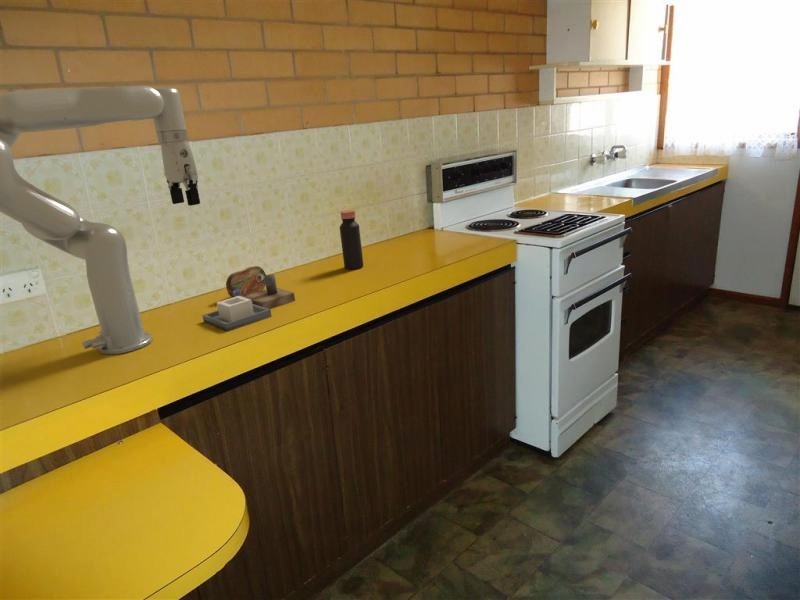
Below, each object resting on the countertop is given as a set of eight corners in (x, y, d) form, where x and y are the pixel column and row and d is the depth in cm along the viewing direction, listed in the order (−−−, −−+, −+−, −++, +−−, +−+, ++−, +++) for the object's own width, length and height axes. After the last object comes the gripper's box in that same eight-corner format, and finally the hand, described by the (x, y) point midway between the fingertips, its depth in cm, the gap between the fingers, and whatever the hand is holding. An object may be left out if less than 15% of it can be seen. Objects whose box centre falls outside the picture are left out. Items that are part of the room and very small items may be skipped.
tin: (234, 302, 176) (229, 276, 173) (227, 301, 177) (222, 275, 175) (268, 288, 187) (264, 263, 185) (261, 287, 189) (257, 262, 187)
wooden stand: (263, 311, 164) (258, 284, 162) (243, 304, 172) (239, 279, 170) (295, 300, 172) (291, 274, 169) (275, 294, 179) (271, 270, 177)
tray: (227, 331, 150) (225, 324, 150) (203, 321, 160) (202, 315, 159) (271, 316, 159) (270, 309, 159) (246, 307, 169) (245, 301, 168)
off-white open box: (254, 315, 159) (251, 299, 158) (231, 322, 155) (228, 306, 153) (241, 310, 164) (238, 295, 163) (219, 317, 160) (216, 302, 158)
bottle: (352, 271, 199) (345, 213, 193) (340, 268, 204) (333, 212, 198) (367, 266, 203) (361, 210, 197) (355, 264, 208) (349, 209, 202)
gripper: (201, 135, 146) (214, 203, 151) (172, 138, 158) (185, 200, 163) (172, 138, 141) (187, 207, 146) (145, 140, 153) (159, 204, 158)
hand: (186, 203), depth 154 cm, fingers open, 9 cm apart
